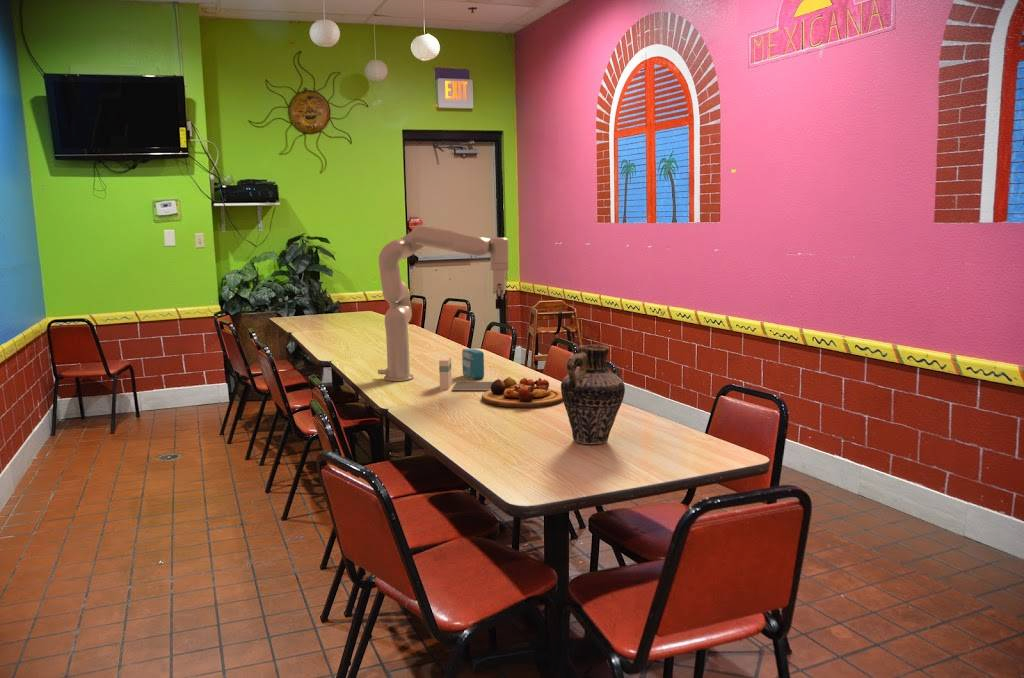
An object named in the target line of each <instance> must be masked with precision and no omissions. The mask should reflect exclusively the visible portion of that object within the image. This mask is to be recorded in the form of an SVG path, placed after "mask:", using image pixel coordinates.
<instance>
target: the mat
mask: <svg viewBox="0 0 1024 678" xmlns="http://www.w3.org/2000/svg"><path fill="white" fill-rule="evenodd" d="M493 382H494V381H456V382H455V384H454V385H453V387H452V388H451V392H487V391H489V390H491V384H492V383H493Z"/></svg>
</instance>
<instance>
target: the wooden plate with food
mask: <svg viewBox="0 0 1024 678" xmlns="http://www.w3.org/2000/svg"><path fill="white" fill-rule="evenodd" d="M492 382H493V383H492V384H491V390H489V391H483V393H482V394H481V400H482V401H483V403H485V404H489V405H491V406H492V405H493V406H496V407H505V408H517V409H518V408H521V409H522V408H525V409H526V408H528V409H529V408H530V409H531V408H540V407H541V408H542V407H544V408H545V407H548V406H549V407H550V406H554V405H558V404H561V403H562V402H563V398H562V393H561V390H557V389H554V388H550V383H549V381H548V380H547V379H544V378H543V379H542V378H541V377H539V378H538V379H536V380H533V379H528V378H526V377H523V378H521V379H519V383H517V381H516V380H515V379H514V378H512V377H511V376H508V377H506V378H505V379H504V380H502V379H501V378H496V379H495V380H493V381H492Z"/></svg>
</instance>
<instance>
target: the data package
mask: <svg viewBox="0 0 1024 678" xmlns="http://www.w3.org/2000/svg"><path fill="white" fill-rule="evenodd" d="M461 353H462V354H461V357H462V358H461V360H462V362H461V363H462V365H461V366H462V374H463V375H462V376H463V377H466V378H468V377H469V379H471V378H472V379H471V380H481V378H482V379H483V378H484V377H485V358H484V357H485V354H484V351H483V350H480V349H477V348H473V347H472V348H464V349H462V351H461Z"/></svg>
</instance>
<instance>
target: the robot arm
mask: <svg viewBox="0 0 1024 678" xmlns="http://www.w3.org/2000/svg"><path fill="white" fill-rule="evenodd" d="M424 247H427V248H428V247H429V248H433V249H434V248H435V249H439V250H445V251H450V252H455V253H460V254H461V253H462V254H466V255H470V256H478V257H481V256H485V255H490V271H491V272H492V294H493V295H495V309H496V310H503V309H504V307H505V295H504V294H505V293H506V282H507V281H506V279H507V278H506V275H507V274H506V273H507V271H509V239H508V238H507V237H492V238H491V237H484V236H479V237H478V236H471V235H466V234H463V233H458V232H456V231H454V230H451V229H445V228H440V227H434V226H430V225H428V224H418V225H416V226H414V227H413V228H412V230H411V231H410V232H409V233H407V234H406V235H404V236H403V237H401V238H398V239H393V240H391V241H389V242H388V243H386V244H385V245H384V246H383V248H382V249H381V250H380V253H379V256H378V268H379V276H380V282H381V290H382V296H383V299H384V301H386V302H387V303H388V305H389V308H388V309H387V311H386V312H385V314H384V328H385V339H386V361H387V368H385V369H377V373H378V375H385V376H384V377H383V379H384V380H385V381H387V382H406V381H411V380H413V379H414V374H411V372H410V371H411V369H410V365H411V363H410V342H409V341H410V340H409V339H410V338H409V328H408V326H409V325H408V324H409V323H410V321H411V320H412V316H413V311H412V305H411V304H412V303H411V299H410V291H409V287H408V286H407V284H406V283H405V281H403V280H402V276H401V270H400V265H399V261H400V260H403V259H407V258H408V257H411V256H412V255H414V254H415V253H417V252H418V251H419V250H421V249H423V248H424Z"/></svg>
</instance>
